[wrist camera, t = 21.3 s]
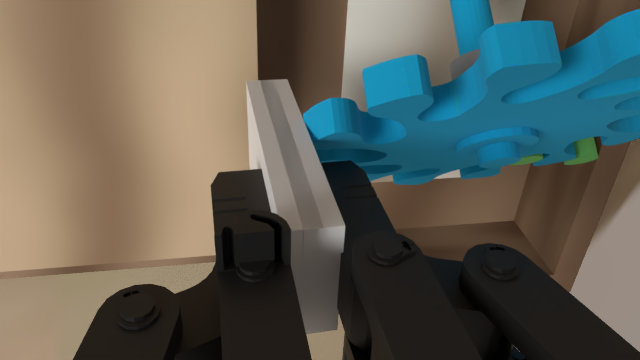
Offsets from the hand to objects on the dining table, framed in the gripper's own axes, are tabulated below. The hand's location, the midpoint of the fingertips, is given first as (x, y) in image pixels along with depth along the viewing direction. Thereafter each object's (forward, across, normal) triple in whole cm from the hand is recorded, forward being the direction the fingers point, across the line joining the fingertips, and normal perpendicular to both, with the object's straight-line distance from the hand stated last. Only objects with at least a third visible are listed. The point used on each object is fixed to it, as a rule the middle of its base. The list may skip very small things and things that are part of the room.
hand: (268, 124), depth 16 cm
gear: (+2, +5, +1) cm, 5 cm away
